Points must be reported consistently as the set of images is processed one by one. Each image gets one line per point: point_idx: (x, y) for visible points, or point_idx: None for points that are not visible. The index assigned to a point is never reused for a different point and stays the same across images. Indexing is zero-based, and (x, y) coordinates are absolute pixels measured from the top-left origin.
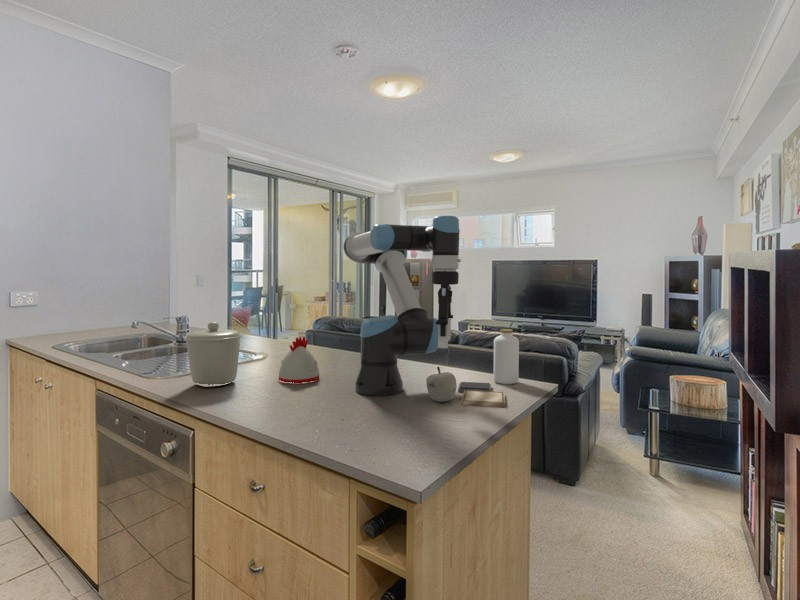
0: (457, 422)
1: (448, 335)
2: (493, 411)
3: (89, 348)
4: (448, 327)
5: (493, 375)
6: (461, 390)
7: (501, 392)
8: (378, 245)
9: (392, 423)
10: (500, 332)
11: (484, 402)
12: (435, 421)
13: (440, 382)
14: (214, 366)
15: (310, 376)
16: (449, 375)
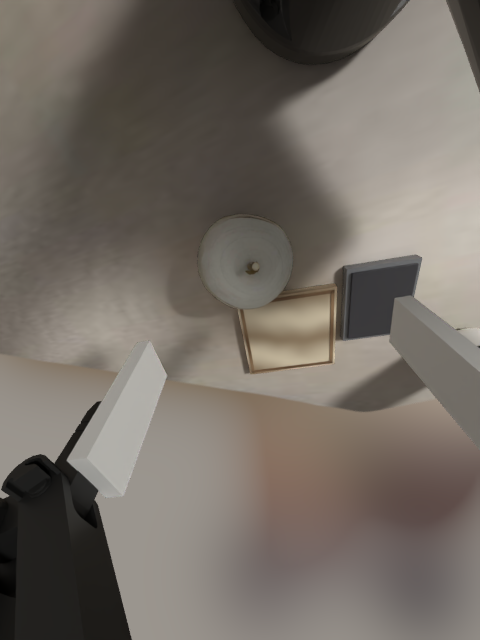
0: (118, 315)
1: (405, 349)
2: (215, 357)
3: None
4: (439, 388)
5: (475, 334)
6: (345, 276)
7: (329, 360)
8: None
9: (14, 186)
10: None
11: (244, 343)
12: (97, 277)
13: (200, 276)
14: None
15: None
16: (228, 303)
